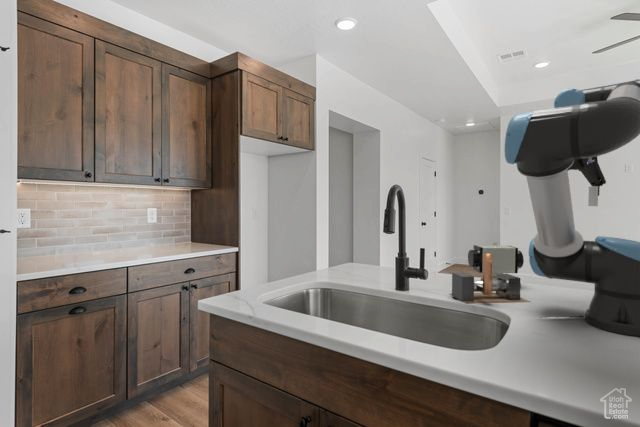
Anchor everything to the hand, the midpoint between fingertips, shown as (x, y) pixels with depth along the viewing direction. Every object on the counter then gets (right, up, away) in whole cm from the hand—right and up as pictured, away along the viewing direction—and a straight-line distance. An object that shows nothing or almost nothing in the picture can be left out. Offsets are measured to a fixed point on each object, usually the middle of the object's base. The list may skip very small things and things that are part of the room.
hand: (573, 206), depth 113 cm
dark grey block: (-35, -31, +3) cm, 47 cm away
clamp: (-19, -31, +4) cm, 37 cm away
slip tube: (-26, -29, 0) cm, 38 cm away
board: (-26, -32, +4) cm, 41 cm away
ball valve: (-16, -31, +21) cm, 41 cm away
